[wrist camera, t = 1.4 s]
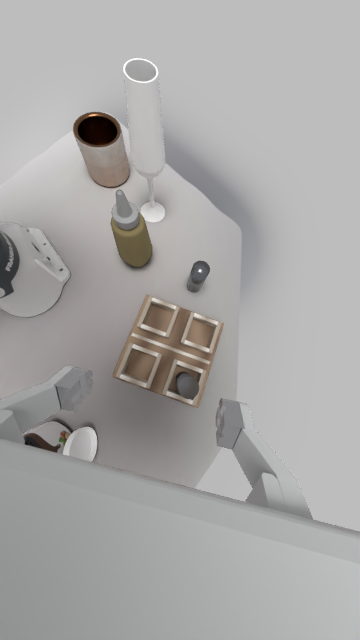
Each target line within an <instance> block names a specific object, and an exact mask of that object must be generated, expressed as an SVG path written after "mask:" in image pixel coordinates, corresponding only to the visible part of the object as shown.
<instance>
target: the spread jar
mask: <svg viewBox="0 0 360 640" xmlns="http://www.w3.org/2000/svg"><path fill="white" fill-rule="evenodd" d="M23 437H24V440H25V445H29V446H32V447H36V448H40V449H44V450H48V451H52V452H55V453H59V454H63V455H67V456H71V457H75V458H78V459H82V460H86V461H90V462H92V461H93V459H94V457H95V454H96V450H97V435H96V433H95V431H94V430H93V429H92V428H91V427H83V428H79V429H77V430H75V431H74V432H72V431H71V430H70V429H69V428H68V427H67V426H65V425H63V424H61V423H59V422H54V421H51V422H46V423H44V424H42V425H40V426H38V427H36V428H34V429H32V430H31V431H29V432H27V433H26V434H24V435H23Z"/></svg>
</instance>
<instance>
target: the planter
mask: <svg viewBox="0 0 360 640" xmlns="http://www.w3.org/2000/svg"><path fill="white" fill-rule="evenodd" d="M73 133H74V136H75V138H76V141H77V143H78V146H79V148H80V151H81V153H82V155H83V158H84V161H85V163H86V166H87V168H88V170H89V173H90V175H91V177H92V178H93V180H94V181H95V182H97V183H98V184H100V185H103V186H107V187H114V186H118V185H121V184H122V183H124V182H125V181H126V180H127V178H128V176H129V164H128V159H127V154H126V150H125V145H124V140H123V135H122V130H121V126H120V124H119V122H118V121H117V120H116V119H115V118H113V117H112V116H110V115H108V114H105V113H101V112H90V113H86V114H84V115H82V116H80V117H79V118H78V119H77V120H76V121H75V123H74V125H73Z"/></svg>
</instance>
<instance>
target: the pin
mask: <svg viewBox="0 0 360 640" xmlns="http://www.w3.org/2000/svg"><path fill="white" fill-rule="evenodd" d="M209 272H210V267H209V265H208V264H207V263H206V262H204V261H197V262H195V263H194V265H193V267H192V270H191V274H190V277H189V280H188V283H187V288H188V290H189V291H191V292H198V291H199V290H200V288H201V286H202V285H203V283H204V281H205V279H206V277H207V276H208V274H209Z"/></svg>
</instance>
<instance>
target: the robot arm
mask: <svg viewBox="0 0 360 640" xmlns="http://www.w3.org/2000/svg"><path fill="white" fill-rule="evenodd" d="M61 270H63V271H61ZM70 276H71V273H70V271H69V270H68V268H67V267H66V265H65V264H64V262H63V261H62V259H61V258H60V256H59V255H58V254H57V252H56V251H55V249H54V248H53V246H52V245H51V243H50V242H49V240H48V239H47V237H46V236H45V234H44V233H43V232H42V231H41V230H40V229H38V228H32V227H26V228H23V227H22V226H20V225H19V224H16V223H12V222H2V223H0V309H2V310H4V311H6V312H8V313H9V314H11V315H14V316H18V317H32V316H36V315H39V314H41V313H43V312H45V311H47V310H48V309H50V308H51V307H52V306H53V305H54V304H55V303H56V301H57V300H58V298H59V296H60V294H61V291H62V288H63V286H64V284H65V283H66V282H67V281H68V279H69V278H70ZM91 376H92V371H90V370H86V369H82V368H78V367H73V366H69V365H68V366H65V367H64V368H63V369H61V370H60V371H59V372H58V373H57V374H56V375H54V376H53V377H52V378H51V379H50V380H48V381H47V382H46V383H45V384H44V383H41V384H39V385H36V386H34V387H31V388H28V389H26V390H23V391H20V392H18V393H15V394H13V395H10V396H7V397H5V398H2V399H0V640H360V532H359V531H355V530H351V529H347V528H343V527H340V526H336V525H332V524H328V523H324V522H320V521H317V520H313V518H312V515H311V513H310V510H309V508H308V505H307V502H306V500H305V497H304V495H303V492H302V489H301V487H300V485H299V482H298V480H297V478H296V477H295V476H294V475H293V474H292V472H291V471H290V470H289V469H288V468H287V466H286V465H285V464H284V463H283V462H282V460H281V459H280V458H279V457H278V455H277V454H276V453H275V452H274V451H273V449H272V448H271V447H270V446H269V444H268V443H267V442H266V441H265V440H264V438H263V437H262V436H261V435H260V434H259V432H256V431H255V428H254V424H253V421H252V417H251V413H250V409H249V406H248V404H246V403H241V402H237V401H232V400H227V399H222V398H221V400H220V402H219V405H220V407H219V408H218V409H217V413H216V426H217V428H218V429H217V432H216V438H217V446H221V447H224V448H228V449H232V451H233V453H234V455H235V456H236V458H237V460H238V462H239V464H240V466H241V468H242V469H243V471H244V473H245V475H246V477H247V479H248V481H249V482H250V484H251V486H252V488H253V490H252V492H251V493H250V494H249V496H248V498H247V499H246V502H243V501H239V500H236V499H232V498H228V497H224V496H220V495H216V494H213V493H209V492H205V491H201V490H197V489H193V488H190V487H186V486H182V485H178V484H174V483H171V482H167V481H163V480H159V479H155V478H151V477H148V476H144V475H140V474H136V473H132V472H128V471H125V470H121V469H117V468H113V467H109V466H105V465H102V464H98V463H94V462H90V461H86V460H82V459H78V458H75V457H71V456H67V455H63V454H59V453H55V452H52V451H48V450H44V449H40V448H36V447H32V446H29V445H25V440H24V437H23V435H22V434H23V433H24V432H26V431H27V430H29V429H31V428H32V427H34V426H36V425H37V424H39V423H40V422H42V421H44V420H45V419H47V418H49V417H50V416H52V415H53V414H55V413H57V412H58V411H60V410H61V409H63V410H68V411H73V412H75V411H76V410H77V408H78V407H79V406H80V405H81V403H82V402H83V398H85V397H87V396H88V395H89V393H90V392H91V390H92V388H93V380H92V379H91V378H90V377H91Z"/></svg>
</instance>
